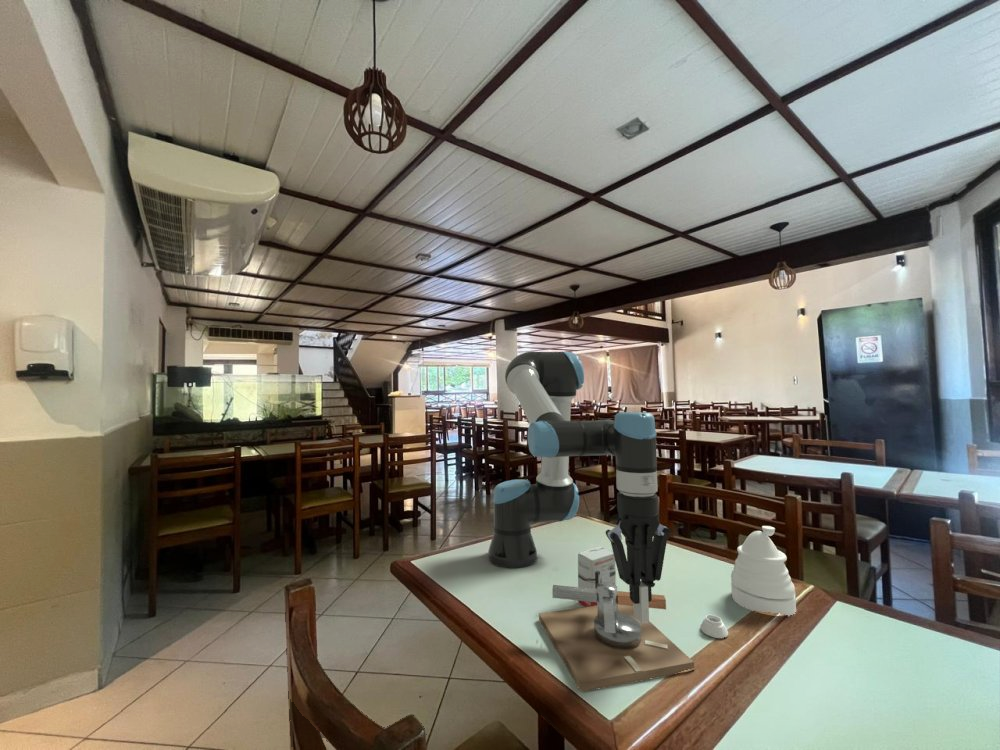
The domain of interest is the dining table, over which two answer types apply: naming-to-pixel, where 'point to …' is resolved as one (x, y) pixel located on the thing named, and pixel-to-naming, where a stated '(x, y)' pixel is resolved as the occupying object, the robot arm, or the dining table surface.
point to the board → (610, 650)
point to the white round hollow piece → (714, 627)
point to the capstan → (610, 611)
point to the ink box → (594, 569)
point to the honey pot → (762, 576)
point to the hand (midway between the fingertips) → (641, 619)
